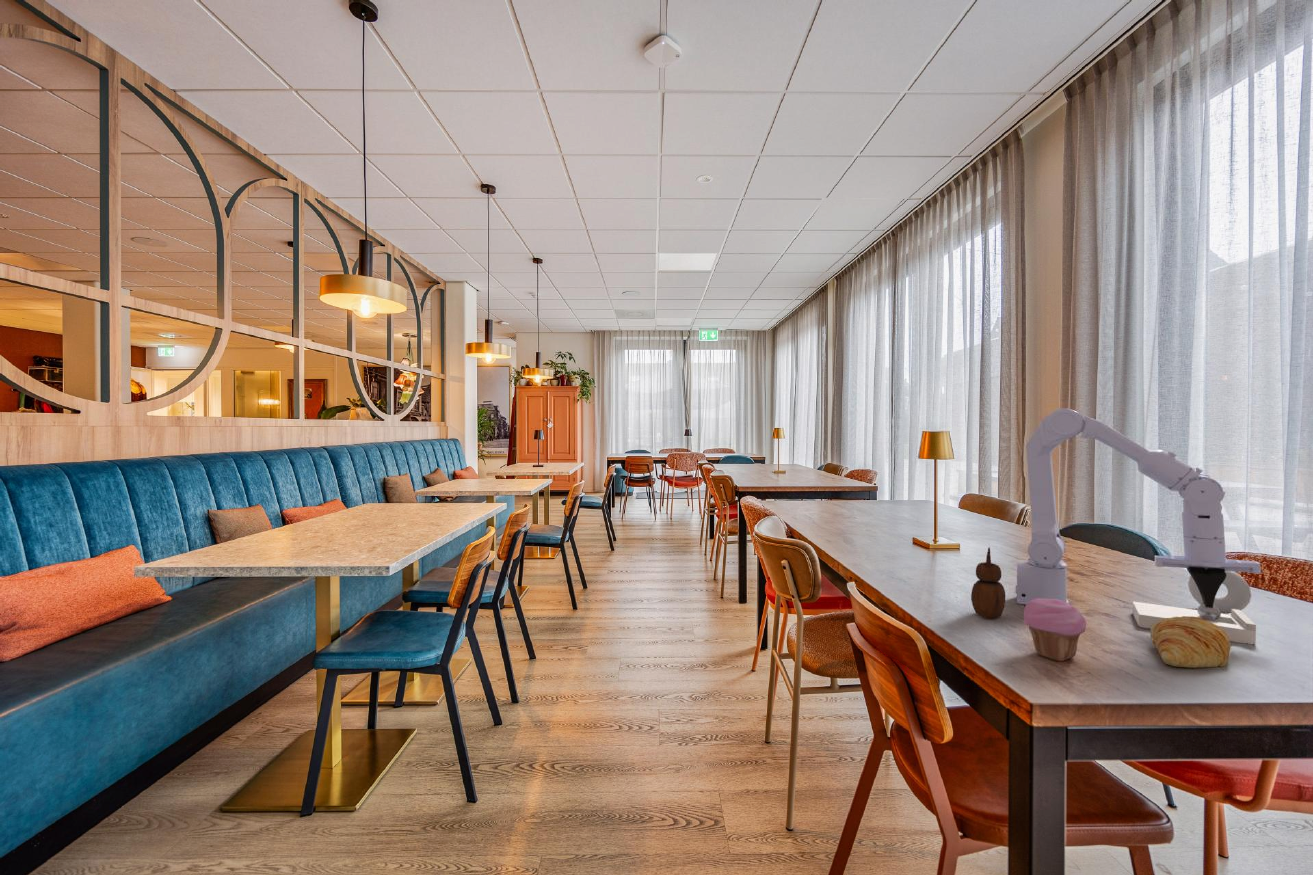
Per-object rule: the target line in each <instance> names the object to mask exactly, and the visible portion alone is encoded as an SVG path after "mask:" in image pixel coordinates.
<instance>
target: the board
mask: <svg viewBox="0 0 1313 875" xmlns="http://www.w3.org/2000/svg"><path fill="white" fill-rule="evenodd" d="M1197 610H1198V609H1191V608H1185V607H1176V606H1171V605H1170V606H1169V605H1163V604H1155V603H1154V604H1153V603H1147V602H1140V601H1132V615H1133V616H1134V619H1135V621H1136V624H1137V626H1138V628H1145V629H1150V630H1151V628H1152V627H1153V626H1154V625H1155V624H1156V623H1158V622H1159V621H1161V620H1164V619H1166V618H1173V617H1182V616H1189V617H1198V618H1202V617H1201V616H1200V615H1199V614H1198V611H1197ZM1208 621H1209V620H1208ZM1209 622H1211V623H1213V624H1215V625H1217V626H1218V627H1220V628H1221V629H1222V630H1223V631H1224V632H1225V633H1226V634H1227V636H1228V638H1229V640H1230V642H1234V641H1235V642H1234V643H1240V644H1246V643H1248V644H1247V645H1253V644H1254V646H1256V645H1257V644H1256V643H1257V642H1256V639H1257V638H1256V636H1257V633H1256V632H1257V631H1256V630H1257V629H1256V628H1257V624H1256V623H1255V622H1253V621H1252V620H1251V619H1250V617H1248V616H1247V615H1246V614H1245V613H1244V612H1243V611H1242V610H1237V609H1231V613H1229V614H1226V613H1221V616H1220V618H1219V619H1217V620H1214V621H1209Z"/></svg>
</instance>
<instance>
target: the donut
mask: <svg viewBox="0 0 1313 875" xmlns="http://www.w3.org/2000/svg"><path fill="white" fill-rule="evenodd" d="M1225 573H1226V575H1227V576H1226V579H1225V580H1224V581H1223V583H1222V584H1221V585H1224V586H1225V587H1226V589H1227V594H1226V595H1225V596H1223V597H1221V596H1217V595H1216V596H1215V600H1214V604H1213V605H1214V606H1216V607H1217V608H1218V609H1219V610H1220V612H1221V613H1222V614H1229V615H1230V614H1231V609H1237V610H1241V611H1242V610H1244V609H1246V608H1247V607H1248V605H1249V604H1250V602H1251V598H1252V593H1251V588H1250V586H1249V584H1248V583H1247V580H1246V579H1244V578H1243V577H1242V576H1241V575H1240V574H1239V573H1238V572H1237V571H1225ZM1187 583H1188V584H1187V585H1188V590H1189V592H1190V594H1191V596H1192V598H1193V599H1194V600H1195V601H1196V602H1197V603H1198V604H1199V606H1200V605H1202V604H1203V600H1202V597H1201V594H1200V591H1199V589H1198V587H1197V585H1196V583H1195V581H1194V580H1193V578H1192V576H1191V575H1190V576H1189V578H1188V582H1187Z"/></svg>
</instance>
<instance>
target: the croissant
mask: <svg viewBox="0 0 1313 875" xmlns="http://www.w3.org/2000/svg"><path fill="white" fill-rule="evenodd" d="M1150 638H1151V639H1152V646H1154V648H1155V649H1157V653H1158V654H1159V656H1160V657H1161V659H1162V661H1163V662H1164V663H1165V665H1169V666H1172V667H1180V668H1193V669H1195V668H1196V669H1197V668H1213V667H1215V668H1216V667H1218V666H1219V667H1224V666H1226V665H1227V664H1228V662H1229V658H1230V654H1231V647H1232V644H1231V641H1230V640H1229V638H1228V636H1227V634H1226V633H1225V632H1224V631H1223V630H1222V629H1221V628H1220V627H1218V626H1217V625H1215V624H1213V623H1211V622H1209V621H1208V620H1207V619H1203V618H1198V617H1189V616H1182V617H1173V618H1166V619H1164V620H1161V621H1159V622H1158V623H1156V624H1155V625H1154V626H1153V627H1152V628H1151V629H1150Z"/></svg>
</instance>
